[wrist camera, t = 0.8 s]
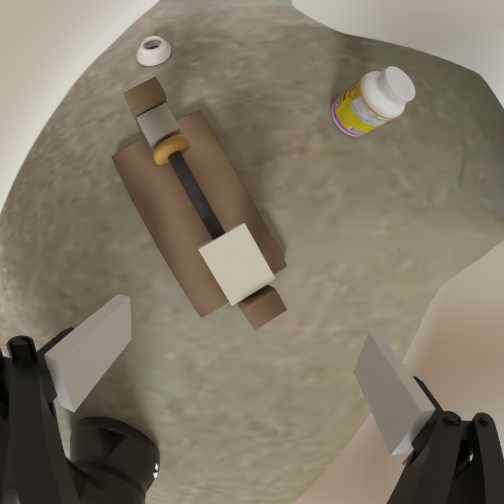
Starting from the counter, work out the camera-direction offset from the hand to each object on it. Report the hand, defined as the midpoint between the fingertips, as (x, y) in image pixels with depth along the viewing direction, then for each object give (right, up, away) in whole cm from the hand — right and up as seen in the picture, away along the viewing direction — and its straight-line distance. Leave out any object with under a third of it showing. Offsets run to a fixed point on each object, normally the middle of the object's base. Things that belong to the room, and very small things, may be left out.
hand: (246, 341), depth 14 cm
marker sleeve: (-2, +4, +11) cm, 12 cm away
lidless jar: (-14, +33, +16) cm, 39 cm away
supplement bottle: (+15, +25, +22) cm, 36 cm away
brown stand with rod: (-6, +9, +18) cm, 21 cm away
